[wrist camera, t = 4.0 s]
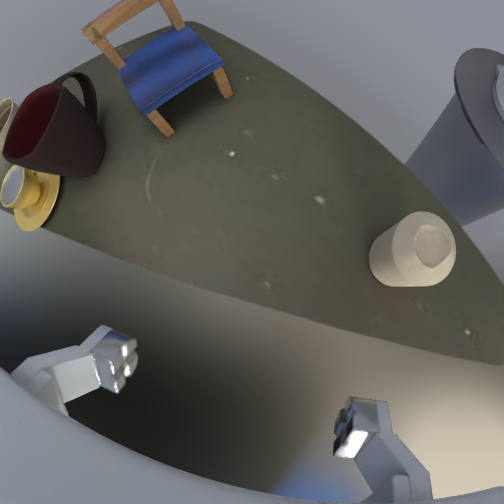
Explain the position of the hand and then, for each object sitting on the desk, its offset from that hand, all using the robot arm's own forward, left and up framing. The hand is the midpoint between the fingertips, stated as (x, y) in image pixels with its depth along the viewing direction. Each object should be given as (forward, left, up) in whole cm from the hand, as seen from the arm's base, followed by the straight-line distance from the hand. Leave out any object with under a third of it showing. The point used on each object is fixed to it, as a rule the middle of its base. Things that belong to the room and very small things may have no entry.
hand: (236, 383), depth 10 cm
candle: (-13, -3, -19) cm, 23 cm away
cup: (+31, -24, -19) cm, 44 cm away
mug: (+20, -27, -19) cm, 39 cm away
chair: (+5, -29, -19) cm, 36 cm away
